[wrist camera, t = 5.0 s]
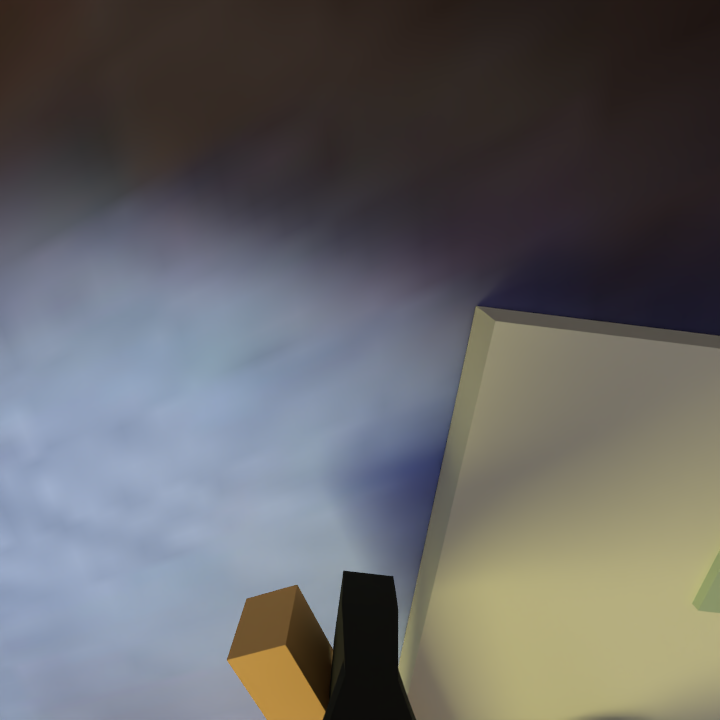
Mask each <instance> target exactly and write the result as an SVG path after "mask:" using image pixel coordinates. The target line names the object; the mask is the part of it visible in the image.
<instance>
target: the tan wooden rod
mask: <svg viewBox="0 0 720 720" xmlns="http://www.w3.org/2000/svg"><path fill="white" fill-rule="evenodd" d="M332 657H333V649H332V647H331V645H330V643H329V641H328V640H327V638H326V636H325V634H324V632H323V631H322V629H321V627H320V625H319V623H318V621H317V620H316V618H315V616H314V614H313V612H312V611H311V609H310V607H309V605H308V603H307V602H306V600H305V598H304V596H303V594H302V592H301V591H300V589H299V587H298V585H294V586H291V587H287V588H283V589H280V590H276V591H273V592H269V593H265V594H262V595H258V596H255V597H251V598H248V599H246V602H245V605H244V608H243V611H242V615H241V618H240V621H239V624H238V627H237V630H236V633H235V636H234V639H233V643H232V646H231V649H230V652H229V655H228V658H227V661H228V663H229V664H230V665H231V667H232V668H233V670H234V671H235V673H236V674H237V676H238V677H239V679H240V680H241V682H242V683H243V685H244V686H245V688H246V689H247V691H248V692H249V694H250V695H251V697H252V698H253V700H254V701H255V703H256V704H257V706H258V707H259V708H260V710H261V711H262V713H263V714H264V716H265V717H266V719H267V720H323V717H324V715H325V712H326V709H327V706H328V703H329V690H330V678H331V667H332Z"/></svg>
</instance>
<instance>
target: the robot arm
mask: <svg viewBox="0 0 720 720" xmlns="http://www.w3.org/2000/svg"><path fill="white" fill-rule="evenodd" d="M323 720H416V718H415V715H414V713H413V710H412V707H411V704H410V702H409V699H408V696H407V693H406V690H405V687H404V684H403V681H402V678H401V675H400V672H399V669H398V605H397V598H396V591H395V585H394V579H393V576H385V575H376V574H368V573H359V572H350V571H343V578H342V585H341V593H340V600H339V607H338V615H337V622H336V629H335V636H334V646H333V657H332V667H331V678H330V690H329V703H328V706H327V709H326V712H325V715H324V717H323Z"/></svg>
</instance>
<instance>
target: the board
mask: <svg viewBox="0 0 720 720" xmlns="http://www.w3.org/2000/svg"><path fill="white" fill-rule="evenodd" d="M398 669H399V672H400V675H401V678H402V681H403V684H404V687H405V690H406V693H407V696H408V699H409V702H410V704H411V707H412V710H413V713H414V715H415V718H416V720H720V336H717V335H708V334H700V333H692V332H684V331H676V330H668V329H660V328H652V327H643V326H635V325H627V324H619V323H611V322H603V321H595V320H586V319H578V318H570V317H562V316H554V315H546V314H538V313H530V312H521V311H513V310H505V309H497V308H489V307H481V306H476V309H475V314H474V318H473V323H472V328H471V332H470V337H469V341H468V346H467V351H466V355H465V360H464V365H463V369H462V374H461V379H460V383H459V388H458V392H457V397H456V402H455V406H454V411H453V416H452V420H451V425H450V429H449V434H448V439H447V443H446V448H445V453H444V457H443V462H442V467H441V471H440V476H439V480H438V485H437V490H436V494H435V499H434V504H433V508H432V513H431V518H430V522H429V527H428V531H427V536H426V541H425V545H424V550H423V555H422V559H421V564H420V569H419V573H418V578H417V582H416V587H415V592H414V596H413V601H412V606H411V610H410V615H409V620H408V624H407V629H406V633H405V638H404V643H403V647H402V652H401V657H400V661H399V666H398Z"/></svg>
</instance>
